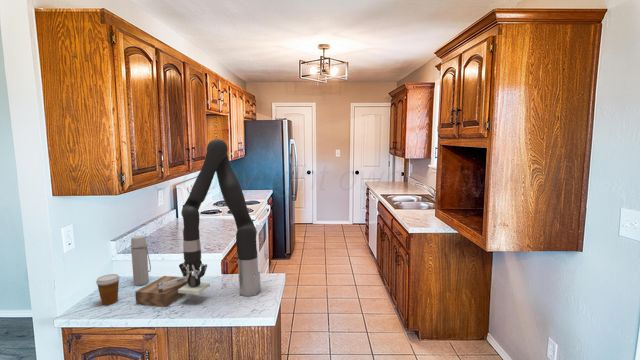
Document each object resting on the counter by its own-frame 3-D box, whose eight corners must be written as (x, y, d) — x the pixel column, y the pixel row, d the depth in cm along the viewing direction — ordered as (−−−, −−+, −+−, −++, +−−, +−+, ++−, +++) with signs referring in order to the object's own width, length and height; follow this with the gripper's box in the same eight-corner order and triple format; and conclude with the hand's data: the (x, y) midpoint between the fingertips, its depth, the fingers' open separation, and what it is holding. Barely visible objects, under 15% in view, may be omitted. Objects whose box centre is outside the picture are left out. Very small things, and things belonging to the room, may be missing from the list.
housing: (192, 289, 180) (191, 274, 179) (166, 307, 160) (165, 290, 160) (165, 287, 184) (164, 273, 183) (136, 304, 164) (134, 288, 164)
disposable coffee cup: (94, 308, 161) (92, 282, 160) (101, 299, 170) (99, 275, 169) (118, 305, 164) (116, 279, 163) (123, 296, 173) (121, 272, 172)
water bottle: (138, 287, 185) (135, 239, 182) (130, 284, 189) (126, 237, 187) (155, 281, 192) (152, 235, 190) (147, 278, 197) (143, 233, 194)
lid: (209, 286, 169) (209, 273, 169) (197, 294, 160) (197, 281, 159) (191, 284, 172) (190, 272, 171) (178, 292, 162) (177, 280, 162)
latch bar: (198, 277, 174) (198, 272, 174) (158, 289, 160) (158, 284, 160) (195, 276, 176) (195, 271, 176) (156, 288, 162) (156, 283, 162)
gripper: (210, 247, 166) (212, 283, 168) (183, 245, 170) (185, 281, 171) (201, 252, 159) (203, 289, 160) (173, 250, 162) (175, 287, 164)
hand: (194, 285), depth 166 cm, fingers closed on lid, 3 cm apart
